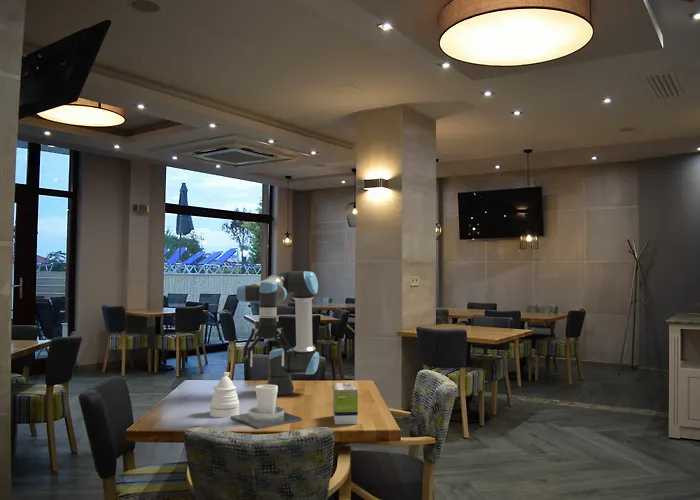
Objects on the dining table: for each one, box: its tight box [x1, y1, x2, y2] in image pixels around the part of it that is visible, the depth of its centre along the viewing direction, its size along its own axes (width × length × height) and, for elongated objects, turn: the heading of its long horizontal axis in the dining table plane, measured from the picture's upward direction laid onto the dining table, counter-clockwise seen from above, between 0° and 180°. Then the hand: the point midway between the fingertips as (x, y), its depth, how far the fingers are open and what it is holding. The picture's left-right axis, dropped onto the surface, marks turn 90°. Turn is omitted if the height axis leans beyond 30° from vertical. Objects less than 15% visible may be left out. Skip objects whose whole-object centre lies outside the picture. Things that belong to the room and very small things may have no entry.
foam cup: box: [255, 384, 278, 414], centre depth 246 cm, size 10×9×13 cm
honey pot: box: [209, 371, 240, 418], centre depth 255 cm, size 13×13×18 cm
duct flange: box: [230, 405, 303, 430], centre depth 245 cm, size 22×22×4 cm
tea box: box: [332, 382, 359, 425], centre depth 246 cm, size 15×10×15 cm, turn 5°
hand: (267, 366), depth 247 cm, fingers open, 13 cm apart
